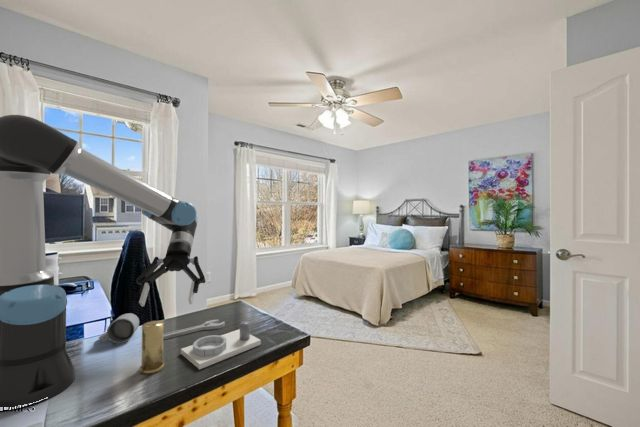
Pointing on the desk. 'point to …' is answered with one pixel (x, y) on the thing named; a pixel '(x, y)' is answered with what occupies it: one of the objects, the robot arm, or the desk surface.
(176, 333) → the adjustable wrench
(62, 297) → the robot arm
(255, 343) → the board
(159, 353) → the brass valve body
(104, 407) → the desk surface
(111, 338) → the ceramic mug
